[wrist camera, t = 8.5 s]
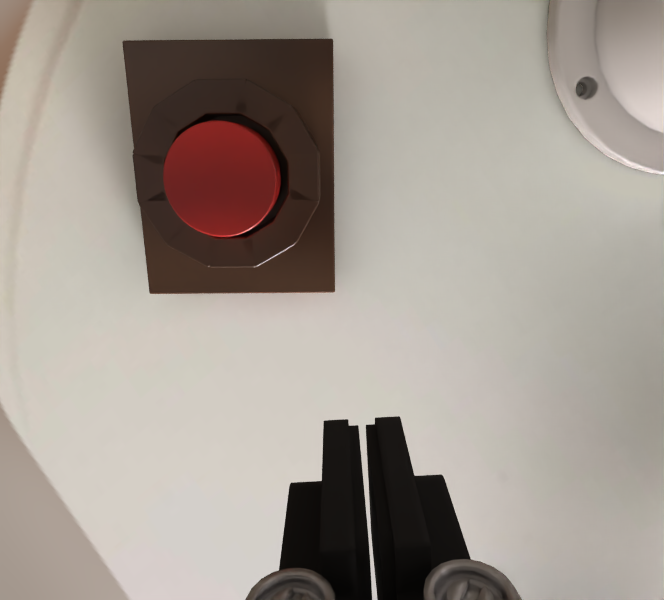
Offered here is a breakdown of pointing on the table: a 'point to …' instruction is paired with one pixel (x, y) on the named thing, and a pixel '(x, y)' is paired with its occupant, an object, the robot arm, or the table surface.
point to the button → (221, 178)
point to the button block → (271, 123)
